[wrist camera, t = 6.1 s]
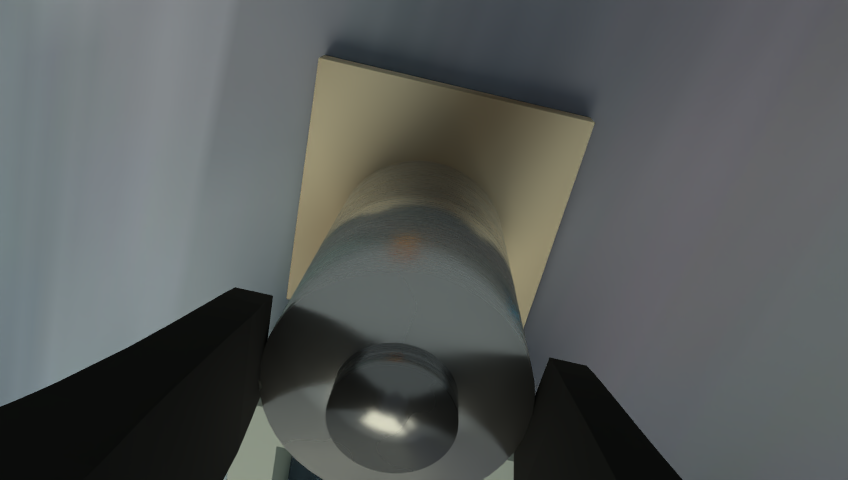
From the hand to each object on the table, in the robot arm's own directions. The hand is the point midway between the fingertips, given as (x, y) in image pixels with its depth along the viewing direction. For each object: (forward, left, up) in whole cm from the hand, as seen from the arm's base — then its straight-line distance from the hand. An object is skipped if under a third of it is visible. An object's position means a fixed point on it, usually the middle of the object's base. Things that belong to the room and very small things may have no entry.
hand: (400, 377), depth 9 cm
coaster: (0, 0, -8) cm, 8 cm away
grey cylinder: (0, +1, -6) cm, 6 cm away
